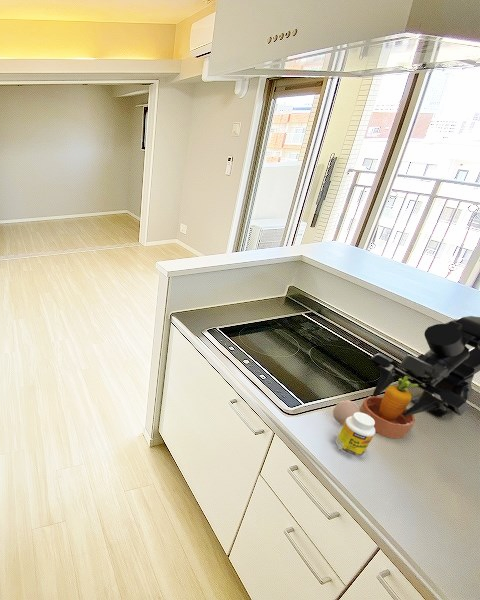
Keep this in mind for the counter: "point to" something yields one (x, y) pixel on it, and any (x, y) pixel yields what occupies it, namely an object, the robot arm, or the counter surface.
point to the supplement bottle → (356, 434)
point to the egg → (344, 411)
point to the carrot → (395, 400)
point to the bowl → (384, 427)
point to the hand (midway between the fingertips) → (388, 405)
